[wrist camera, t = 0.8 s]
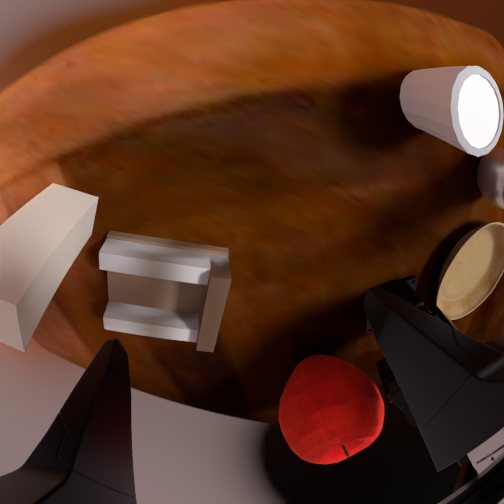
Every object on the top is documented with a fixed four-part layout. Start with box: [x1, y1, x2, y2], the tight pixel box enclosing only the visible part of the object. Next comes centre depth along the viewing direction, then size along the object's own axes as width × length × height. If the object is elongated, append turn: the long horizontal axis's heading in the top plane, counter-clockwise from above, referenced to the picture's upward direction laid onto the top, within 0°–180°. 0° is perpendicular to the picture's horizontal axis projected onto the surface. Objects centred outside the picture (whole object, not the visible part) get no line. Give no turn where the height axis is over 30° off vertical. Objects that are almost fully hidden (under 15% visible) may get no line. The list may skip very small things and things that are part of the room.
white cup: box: [400, 66, 503, 157], centre depth 16 cm, size 7×7×7 cm
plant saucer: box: [436, 222, 504, 320], centre depth 30 cm, size 15×15×3 cm
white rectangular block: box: [0, 183, 99, 352], centre depth 15 cm, size 4×3×13 cm
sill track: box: [99, 231, 232, 352], centre depth 23 cm, size 10×9×4 cm
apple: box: [279, 354, 384, 464], centre depth 29 cm, size 12×12×13 cm
